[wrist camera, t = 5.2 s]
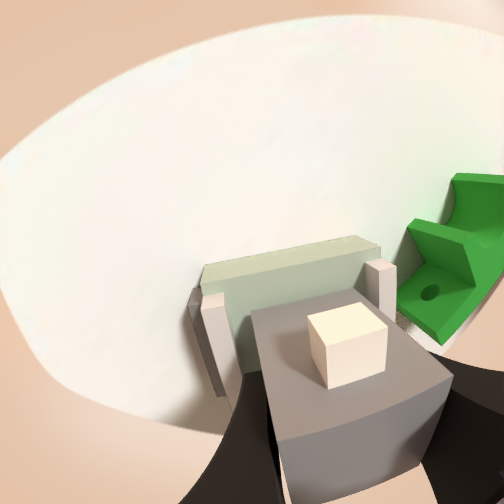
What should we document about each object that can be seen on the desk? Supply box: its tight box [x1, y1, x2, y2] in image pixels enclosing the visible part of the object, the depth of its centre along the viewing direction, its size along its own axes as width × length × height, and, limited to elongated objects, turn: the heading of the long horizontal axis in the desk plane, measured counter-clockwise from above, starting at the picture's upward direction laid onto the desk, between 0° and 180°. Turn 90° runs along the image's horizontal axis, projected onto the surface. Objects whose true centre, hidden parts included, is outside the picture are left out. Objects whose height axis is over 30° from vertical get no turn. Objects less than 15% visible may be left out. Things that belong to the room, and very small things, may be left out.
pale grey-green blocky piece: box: [188, 235, 397, 412], centre depth 12 cm, size 8×7×4 cm
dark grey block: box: [250, 288, 454, 504], centre depth 8 cm, size 4×5×6 cm
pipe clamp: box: [396, 173, 504, 346], centre depth 11 cm, size 11×4×5 cm, turn 130°
